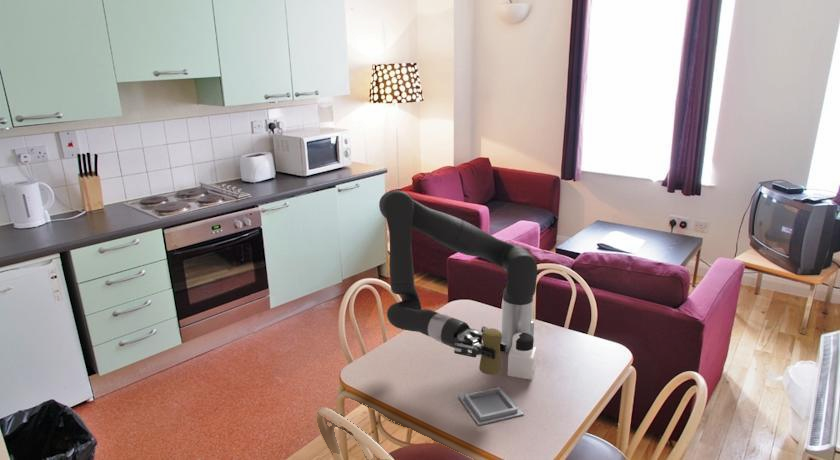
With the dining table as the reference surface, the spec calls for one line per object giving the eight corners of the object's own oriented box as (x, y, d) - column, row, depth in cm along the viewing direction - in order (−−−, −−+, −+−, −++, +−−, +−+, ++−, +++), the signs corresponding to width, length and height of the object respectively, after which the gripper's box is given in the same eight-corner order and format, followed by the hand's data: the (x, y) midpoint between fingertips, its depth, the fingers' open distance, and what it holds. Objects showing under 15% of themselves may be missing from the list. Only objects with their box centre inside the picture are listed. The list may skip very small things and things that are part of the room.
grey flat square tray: (501, 388, 156) (501, 383, 156) (523, 415, 145) (523, 410, 144) (458, 397, 152) (458, 392, 152) (478, 425, 141) (478, 421, 140)
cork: (501, 375, 142) (503, 337, 138) (477, 373, 143) (479, 335, 139) (503, 363, 147) (504, 326, 144) (480, 361, 148) (481, 324, 145)
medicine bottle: (535, 367, 166) (537, 332, 163) (531, 380, 160) (533, 343, 156) (511, 363, 169) (513, 328, 165) (507, 376, 162) (508, 339, 158)
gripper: (431, 327, 146) (485, 349, 135) (464, 309, 156) (516, 328, 145) (431, 352, 148) (484, 376, 137) (463, 333, 158) (515, 353, 148)
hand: (500, 351), depth 141 cm, fingers closed on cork, 4 cm apart
